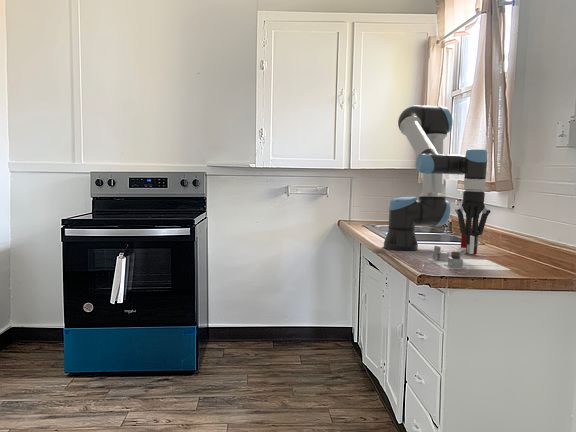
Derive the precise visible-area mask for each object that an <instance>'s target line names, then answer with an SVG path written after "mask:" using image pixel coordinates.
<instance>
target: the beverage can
mask: <svg viewBox="0 0 576 432" xmlns="http://www.w3.org/2000/svg"><path fill="white" fill-rule="evenodd" d="M465 227H466V225H465ZM460 234H461V237H460V248H466V253H465V254H468V253H467V244H465V235H464V234H462V233H460ZM471 236H472V225H471ZM478 241H479V235H478V236H477V241H476V245H474V253H473V254H472V255H477V254H478Z"/></svg>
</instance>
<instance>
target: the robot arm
mask: <svg viewBox="0 0 576 432" xmlns="http://www.w3.org/2000/svg"><path fill="white" fill-rule="evenodd" d="M453 123H454V121H453V114H452V112H451V110H450V109H449V108H448V107H447V106H439V105H419V104H417V105H411V106H408V107H407V108H405V109H404V110H403V111H402V112H401V114H400V115H399V117H398V120H397V126H398V129H399V131H400V132H401V133H400V134H402V135H404V136H405V137H406V139H407V140H408V142H409V145H410V146H411V148H412V150H413V151H414V153H415V155H416V160H415V167H416V171H417V172H418V173H419V174H422V191H421V193H420V195H419V196H418V199H417V197H416V196H399V197H394V198H392V199H390V200H389V201H390V202H389V206H388V207H389V208H388V211H389V212H388V231H387V234H386V235H385V238H384V242H383V248H384V249H388V250H393V251H403V252H405V251H407V252H408V251H417V250H418V249H419V248H418V246H419V245H418V243H419V242H418V240H417V237H416V233H415V231H416V230H415V228H416V226H417V227H419V226H420V227H421V226H423V227H424V226H425V227H426V226H428V227H438V226H443V225H445V224H447V222H448V220H449V218H450V214H451V205H450V201H449V200H446V195H445V194H444V193H443V174H444V175H462V176H463V175H464V177H463V189H464V191H463V192H462V193H463V194H462V204H461V206H460V207H458V208H455V209H454V211H455V213H456V214H457V220H458V225H459V231H460V234H464V235H465V244H467V253H466V254H471V255H474V254H473V253H474V245H476V241H477V236H478V237H479V236H481V235H483V234H484V233H483V232H484V230H485V226H486V222H487V220H488V217H489V215H490V214H491V209H488V208H486V205H485V195H486V193H485V190H486V182H487V181H486V177H487V167H488V151H487V150H486V149H485V148H484V149H483V148H468V149H467V150H466V151H465V154H446V153H445V154H444V140H445V139H446V138H447V136H448V134H449V133H450V132H451V131H452V127H453ZM463 213H465V216H464V214H463ZM480 215H481V216H480ZM464 217H465V218H464ZM465 226H466V227H465ZM471 226H472V236H471Z"/></svg>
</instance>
